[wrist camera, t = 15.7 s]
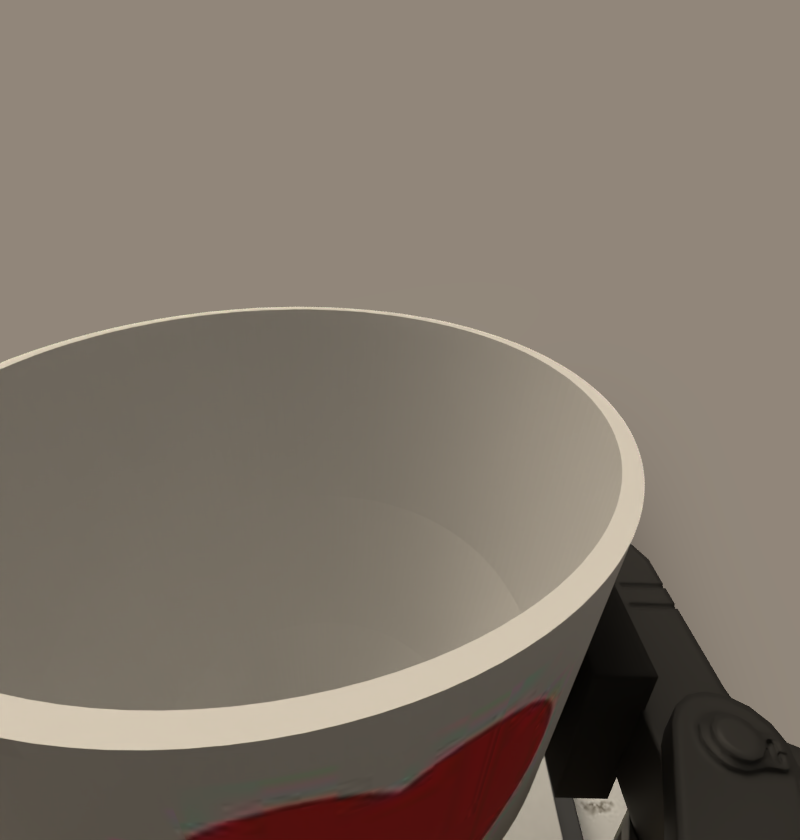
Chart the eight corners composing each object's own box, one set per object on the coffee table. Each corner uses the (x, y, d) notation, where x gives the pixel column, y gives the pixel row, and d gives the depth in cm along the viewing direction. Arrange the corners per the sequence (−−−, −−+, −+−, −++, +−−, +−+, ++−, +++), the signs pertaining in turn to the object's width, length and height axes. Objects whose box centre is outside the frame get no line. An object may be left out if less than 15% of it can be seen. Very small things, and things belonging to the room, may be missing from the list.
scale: (632, 1143, 15) (664, 1116, 13) (171, 1128, 14) (148, 1100, 13) (533, 698, 26) (543, 656, 25) (276, 689, 26) (271, 646, 25)
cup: (-16, 1070, 8) (-587, 615, 3) (225, 634, 15) (159, 291, 10) (519, 1232, 7) (864, 913, 2) (507, 681, 14) (580, 323, 9)
